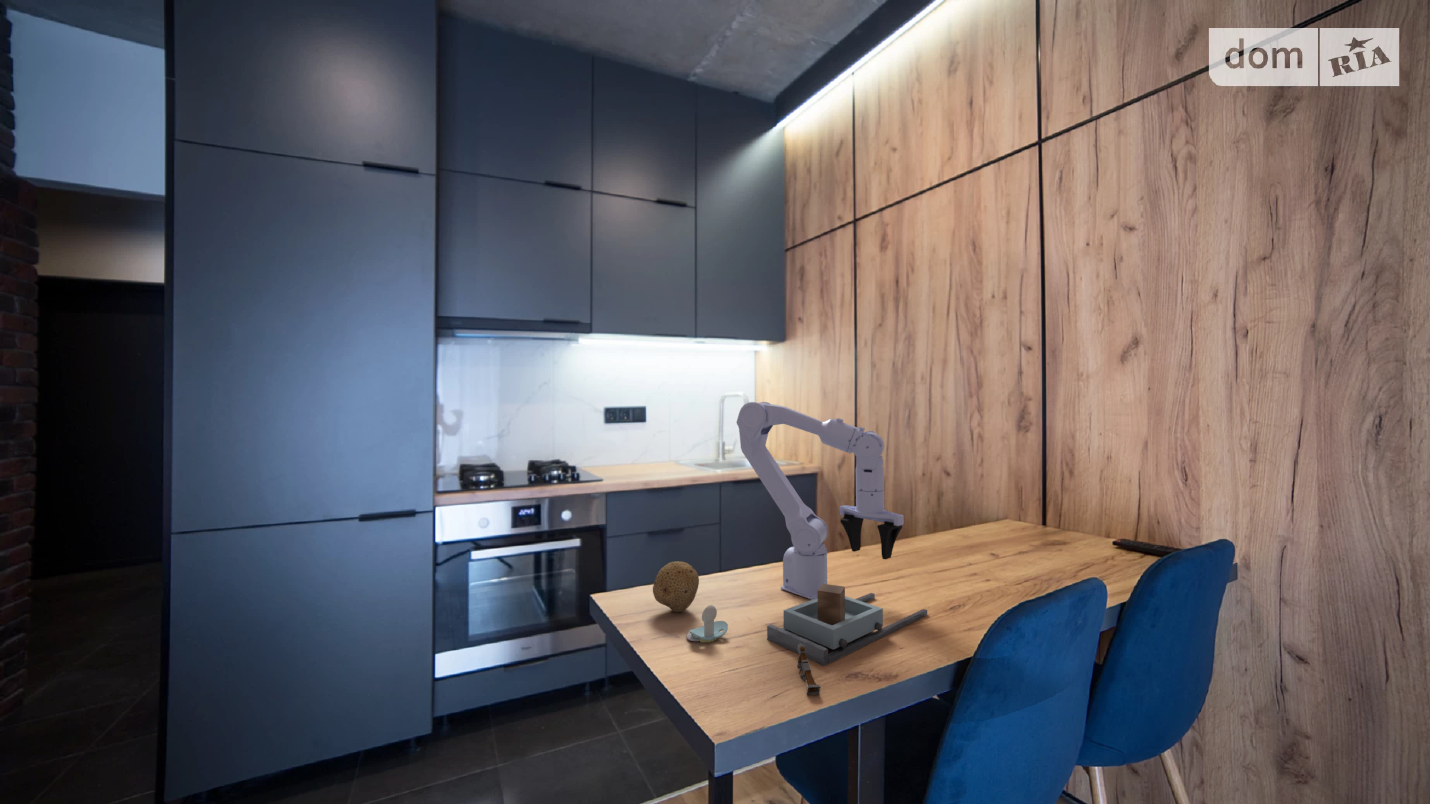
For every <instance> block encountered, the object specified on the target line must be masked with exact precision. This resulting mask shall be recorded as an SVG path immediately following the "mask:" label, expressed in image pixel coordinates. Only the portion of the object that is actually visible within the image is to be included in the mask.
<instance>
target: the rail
mask: <svg viewBox="0 0 1430 804" xmlns="http://www.w3.org/2000/svg"><path fill="white" fill-rule="evenodd" d="M875 595H876V594H875V593H874V592H870V593H867V594H864V595H862V596H860V597H857V598H855V599H856V600H859V601H862V602H865V603H868V602H869V600H870V601H872V600H874V599H875V598H876V597H875ZM926 616H928V609H926V608H922V609H920V610H918V611H916V612H914V613H912V614H910V615H907V616H905V617H904V618H901V619H899V620H897V621H895V622H893V623H891V624H888V625H887V626H885V627H884V626H883V627H882V629H881V631H878V630H875V631H872V632H870V633H868V634H866V635H864V636H862V638H861V637H860V638H858V639H856V640H854V641H851V642H849V644H848V643H847V646H846V647H845V648H843V647H839V648H837V649H835V650H834V651H831V652H829V648H828V647H826V646H824V645H821V644H819V643H817V642H814V641H812V640H810V639H807V638H805V637H803V636H801V635H798V634H796V633H794V632H791V631H789V630H787V629H784V626H783V627H779V626H776V625H774V624H768V625H767V626H766V627H767V628H766V636H767V637H766V639H767V640H768V641H770V642H772V643H774V644H776V645H779V646H781V647H783V648H784V649H787V650H788V651H791V652H793V653H795V654H798V655H799V652H798V645H799V644H802V645H804V647H805V650H806V657H807V660H811V661H813V662H815V663H817V664H819V665H821V666H822V667H825V666H827V665H829V664H831V663H833V662H835V661H837V660H840V659H842V658H843V657H846V656H848V655H849V654H851V653H853V652H856V651H858V650H860V649H861V648H864V647H865V646H868V645H870V644H872V643H874V642H875V641H878V640H880V639H882V638H884V637H886V636H888V635H890V634H892V633H894V632H896V631H898V630H900V629H902V628H905V627H906V626H908V625H910V624H913V623H914V622H917V621H918V620H921V619H922V618H925V617H926Z"/></svg>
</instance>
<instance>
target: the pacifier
mask: <svg viewBox="0 0 1430 804" xmlns="http://www.w3.org/2000/svg"><path fill="white" fill-rule="evenodd" d="M717 612H718V611H717V608H716V605H713V604H709V605H707V606H706V607H705V608H704V609H703V611H702V614H701V620H702V622H703V625H702V626H699V627H696V628H692V629H689V632H688V633H687V635H686V639H687V640H688V641H691V642H699V641H700V642H699V643H701V642H709V641H712V642H715V641H716V640H717V639H718V638H721V637H723V636H724V635H725V634H726V633H727V631H728V629H729V628H728V627H729V624H728V622H726V621H724V620H718V621H717V620H716V621H715V619H716V617H717ZM714 640H715V641H714ZM709 643H710V642H709Z"/></svg>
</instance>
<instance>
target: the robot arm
mask: <svg viewBox="0 0 1430 804" xmlns="http://www.w3.org/2000/svg"><path fill="white" fill-rule="evenodd" d="M736 425H737V427H738V432H739V443H740V451H741V452H742V454H743V455H744V457H745V458H746V460H747V462H748V463H749V465H750V466H751V467H752V469H753V470H754V472H755V473H756V475H757V476H758V478H759V480H760V481H761V483H762V484H763V485H764V487H765V489H766V490H767V492H768V493H769V495H770V497H771V498H772V500H773V501H774V502H775V504H776V505H777V507H778V509H779V510H780V513H782V514H783V516H784V519H785V526H786V529H787V530H788V532H789V534H790V539H791V543H792V546H790V547H789V548H787V550H786V551H785V553H784V555H783V559H782V585H780V589H781V590H783V591H786V592H789V593H792V594H794V595H798V596H800V597H804V598H806V599H809V600H813V599H816V598H818V589H819V588H820V587H821V585H822V584H828V549H827V547H826V545H825V543H824V542H825V541H826V539H827V538H828V536H829V528H828V525H827V523H826V521H824V520H823V519H822V518H820V517H819V516H817V515H816V514H815V512H814V511H813V510H812V509H811V508H810V507H809V506H808V505H806V504H805V503H804V502H803V500H802V499H801V497H800V496H799V494H798V492H797V491H796V490H795V488H794V486H793V485H792V484H791V482H790V480H789V479H788V478H787V476H786V475H785V473H784V471H783V470H782V469H781V468H780V466H779V464H778V462H777V461H776V459H774V457H773V455H772V453H770V450H769V449H768V447H767V445H766V444H767V440H768V436H769V433H770V432H771V429H773V426H777V425H786V426H789V427H792V428H795V429H798V430H802V431H804V432H806V433H807V432H808V433H811V434H814V435H817V436H818V437H819V438H820V442H821V443H822V444H823V445H826V446H828V447H832V448H834V449H837V450H840V451H842V452H844V453H848V454H852V453H853V454H854V456H855V459H856V466H855V497H856V498H855V506H853V505H846V504H845V505H840V506H839V515H840V516H843V517H842V518H841V517H840V524H841V525H842V527H843V528H844V531H845V533H846V535H847V538H848V540H849V545H850V549H851V552H857V551H858V552H859V551H861V549H862V548H861V545H862V528H863V522H864V520H869V521H875V522H879V523H882V524H878V525H876V526H877V530H878V533H879V537H880V546H881V547H880V550H881V551H880V553H881V559H882V560H890V559H891V558H892V554H893V550H894V546H895V543H896V540H897V538H898V535H899V534H900V532H901V530H902V529H903V525H904V523H905V521H904V520H905V519H904V517H905V516H904V514H900V513H899V514H898V513H896V512H892V511H888V510H886V509H885V471H884V466H883V465H884V458H883V453H884V451H885V450H884V449H885V441H884V440H883V437H882V436H880V435H879V434H878V433H876V432H875V431H873V430H868V431H865V427H863V426H859V427H856V426H854V425H851V424H848V423H845V422H844V419H843V418H840V417H837V418H836V419H835V418H830V419H827V420H825V421H822V420H820V419H817V418H814V417H812V416H810V415H807V414H805V413H803V412H799V411H797V410H796V409H792V408H789V407H787V406H783V405H780V404H773V403H772V404H771V403H770V402H767V401H761V402H756V401H755V402H754V401H749V402H747V403H744V404H743V405H742V407H741V408H740V410H739V412H738V416H737V420H736Z"/></svg>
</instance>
